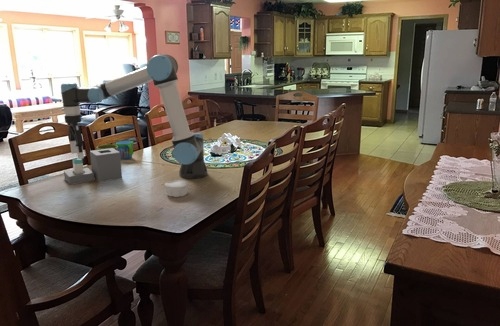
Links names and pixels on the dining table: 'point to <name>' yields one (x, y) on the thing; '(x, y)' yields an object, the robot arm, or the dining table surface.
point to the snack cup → (125, 149)
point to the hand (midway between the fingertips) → (77, 155)
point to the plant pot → (107, 147)
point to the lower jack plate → (79, 176)
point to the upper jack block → (106, 164)
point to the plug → (77, 166)
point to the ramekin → (176, 188)
